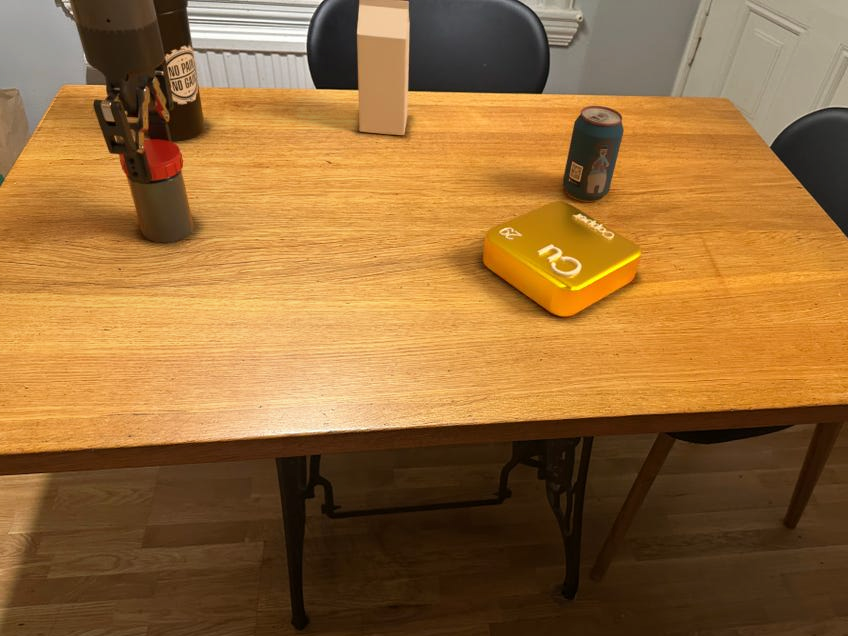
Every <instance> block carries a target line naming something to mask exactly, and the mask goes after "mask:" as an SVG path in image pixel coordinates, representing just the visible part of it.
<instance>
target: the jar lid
mask: <svg viewBox="0 0 848 636" xmlns="http://www.w3.org/2000/svg"><path fill="white" fill-rule="evenodd" d="M144 150H145V152H146V156H147V160H148V164H149V168H150V172H151V176H152V179H151V181H153V180H161V179H165V178H169V177H171V176H173V175H175V174H177V173H178V172H180V170H182V169H184V168H183V167H184V159H183V153H182V152H181V149H180V147H179V145H178V144H176V143H175V142H174V141H172V142H170V141H166V140H160V139H150V138H148V139H144ZM118 156H119V163H120V165H121V166H120V167H121V170H122V171H123V173H124V174H125V176H126V175H127V176H129V174H128V171H127V167H126V163H125V160H124V156H123V155H121V154H118ZM127 176H126V177H127Z"/></svg>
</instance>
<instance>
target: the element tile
mask: <svg viewBox="0 0 848 636" xmlns="http://www.w3.org/2000/svg"><path fill="white" fill-rule="evenodd" d="M482 254H483V255H482V263H483V264H484V266H485V267H486V268H487V269H488V270H490V271H491V272H493V274H495V275H497V276H498V277H500V278H502V280H504V281H506V283H508V284H510V285H511V286H512V287H514V288H515V289H517V290H518V291H520V293H522V294H524V295H525V296H527V297H528V298H529V299H530V300H532V301H534V302H535V303H536V304H538V305H539V306H541V308H543V309H545V310H546V311H548V312H549V313H551V314H552V315H555V316H558V317H566V318H567V317H571V316H574V315H576V314H578V313H580V312H581V311H583V310H584V309H586V308H588V307H590V306H591V305H594V304H595V303H597V302H599V301H600V300H602V299H604V298H605V297H607V296H609V295H611V294H613V293H614V292H616V291H618V290H619V289H621V288H622V287H624V286H627V285H628V284H630V283H631V282H632V281H633V280H634V278H635V277H636V273H637V270H638V267H639V264H640V261H641V257H642V254H643V251H642V247H641V246H640V245H638V244H637V243H636V242H634V241H633V240H631V239H630V238H628V237H627V236H624V235H623V234H621V233H619V232H618V231H616V230H615V229H613V228H611V227H609V225H608V226H607V225H606V224H604V223H603V222H601V221H599V220H597V219H596V218H594V217H592V216H591V215H589V214H588V213H586V212H585V211H582V210H581V209H580V208H577V207H576V206H575V205H572V204H571V203H568V202H565V201H563V200H556V201H551V202H548V203H546V204H544V205H542V206H539V207H537V208H534V209H532V210H530V211H528V212H525V213H523V214H521V215H518V216H516V217H514V218H511V219H508V220H507V221H505V222H502V223H500V224H498V225H496V226H493V227H491V228H489V229H488V230H487V231H486V232H485V237H484V245H483V253H482Z"/></svg>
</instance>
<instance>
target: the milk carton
mask: <svg viewBox="0 0 848 636" xmlns="http://www.w3.org/2000/svg"><path fill="white" fill-rule="evenodd" d="M409 4H410V2H409V1H408V0H358V16H357V18H358V19H357V29H356V48H357V49H356V51H357V86H358V87H357V88H358V89H357V91H358V119H359V120H358V123H359V124H358V127H359V128H358V129H359V132H361V133H370V134H382V135H383V134H384V135H394V136H404V135H405V132H406V127H407V126H406V125H407V122H408V121H407V120H408V110H409V109H408V108H409V106H408V105H409V68H410V67H409V66H410V25H411V23H410V21H411V20H410V10H409V7H410V5H409Z"/></svg>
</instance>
